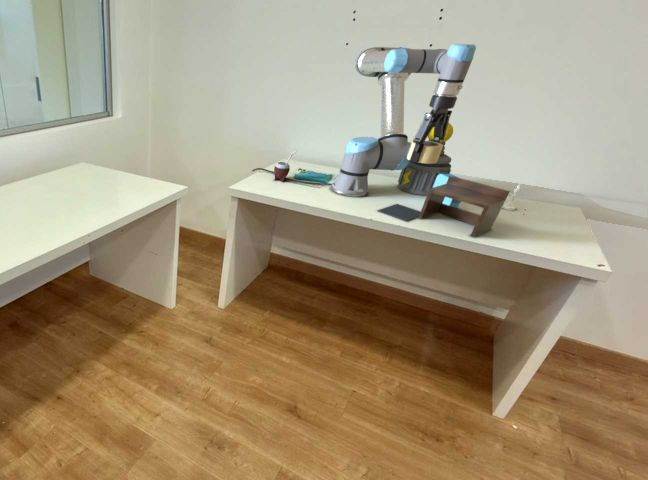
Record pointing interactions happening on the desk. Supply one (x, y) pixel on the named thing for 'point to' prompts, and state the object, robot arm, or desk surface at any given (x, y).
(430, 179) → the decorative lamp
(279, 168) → the mate gourd
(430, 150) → the tape roll
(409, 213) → the desk mat
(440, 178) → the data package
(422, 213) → the desk shelf
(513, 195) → the chess piece
